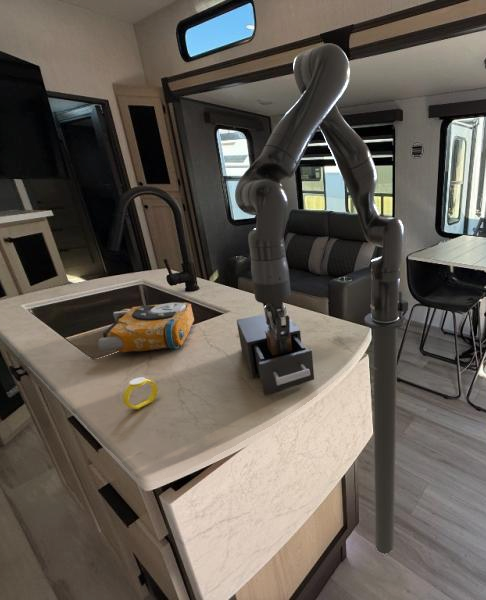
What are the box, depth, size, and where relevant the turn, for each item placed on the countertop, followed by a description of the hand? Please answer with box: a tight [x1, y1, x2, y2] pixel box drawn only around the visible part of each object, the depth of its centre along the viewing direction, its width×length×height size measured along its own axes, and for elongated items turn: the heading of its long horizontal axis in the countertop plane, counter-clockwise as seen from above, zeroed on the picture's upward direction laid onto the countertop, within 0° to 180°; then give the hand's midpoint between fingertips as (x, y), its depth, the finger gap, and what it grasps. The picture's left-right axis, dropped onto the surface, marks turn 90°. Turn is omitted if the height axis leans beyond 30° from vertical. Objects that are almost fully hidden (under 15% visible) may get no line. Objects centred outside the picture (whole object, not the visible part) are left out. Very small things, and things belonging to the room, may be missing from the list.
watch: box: [122, 376, 159, 410], centre depth 67 cm, size 6×3×6 cm, turn 158°
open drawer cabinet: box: [251, 334, 315, 396], centre depth 75 cm, size 19×11×8 cm, turn 32°
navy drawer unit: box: [236, 313, 302, 378], centre depth 85 cm, size 16×13×10 cm
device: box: [97, 302, 195, 353], centre depth 96 cm, size 23×8×30 cm
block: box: [265, 329, 292, 356], centre depth 73 cm, size 4×4×4 cm
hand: (279, 347), depth 74 cm, fingers closed on block, 4 cm apart
